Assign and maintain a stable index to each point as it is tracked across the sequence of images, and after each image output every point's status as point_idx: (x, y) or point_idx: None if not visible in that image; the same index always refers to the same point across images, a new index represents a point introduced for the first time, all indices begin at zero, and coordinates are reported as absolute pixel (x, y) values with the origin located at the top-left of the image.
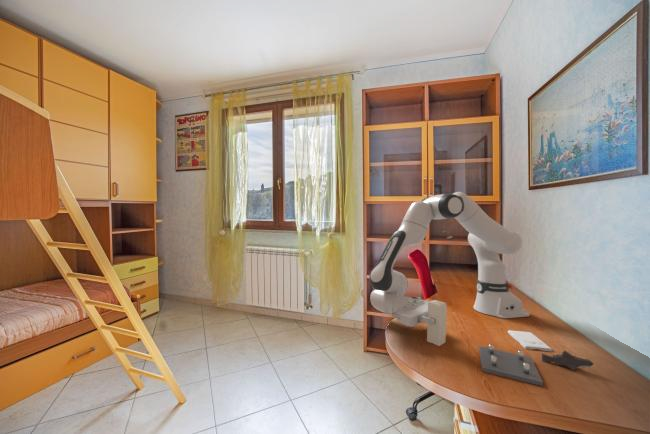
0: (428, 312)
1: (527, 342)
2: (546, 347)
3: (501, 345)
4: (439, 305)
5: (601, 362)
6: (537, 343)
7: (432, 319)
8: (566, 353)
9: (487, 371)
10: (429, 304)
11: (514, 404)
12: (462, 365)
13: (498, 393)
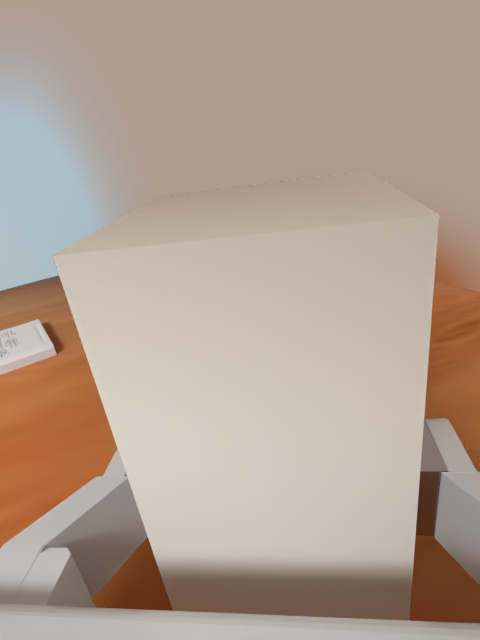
0: (415, 454)
1: (12, 349)
2: (34, 323)
3: (68, 393)
4: (362, 173)
5: (60, 288)
6: (7, 338)
7: (444, 428)
8: None
9: None
10: (422, 258)
11: (463, 292)
12: (436, 404)
13: (463, 311)
